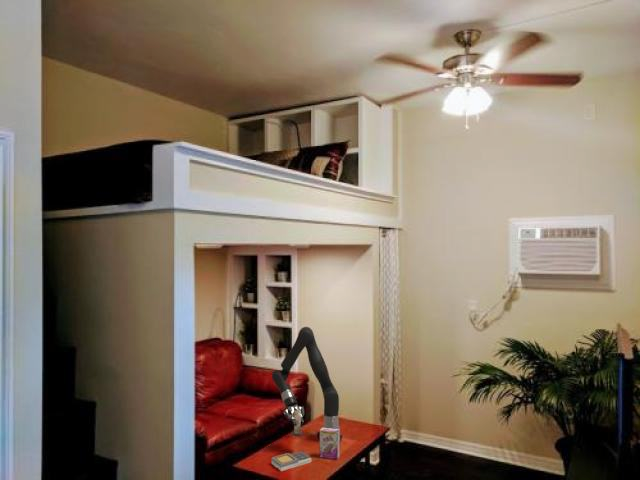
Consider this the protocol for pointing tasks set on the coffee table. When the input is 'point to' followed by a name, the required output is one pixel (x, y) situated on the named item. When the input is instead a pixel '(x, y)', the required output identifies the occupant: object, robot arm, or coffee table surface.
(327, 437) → the candy bar box
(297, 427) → the beige rounded cylinder
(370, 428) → the coffee table surface
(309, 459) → the keyboard
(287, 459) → the amber key
